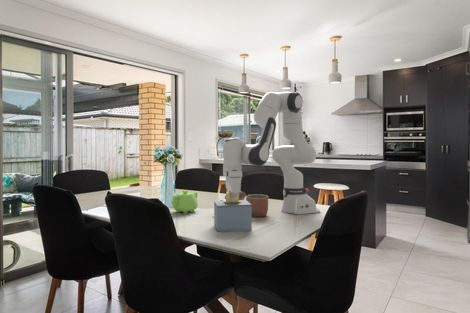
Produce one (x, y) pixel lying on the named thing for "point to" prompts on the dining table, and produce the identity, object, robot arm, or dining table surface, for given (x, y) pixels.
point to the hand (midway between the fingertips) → (232, 200)
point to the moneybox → (232, 216)
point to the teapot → (185, 202)
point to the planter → (258, 204)
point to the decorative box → (240, 195)
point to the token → (228, 199)
